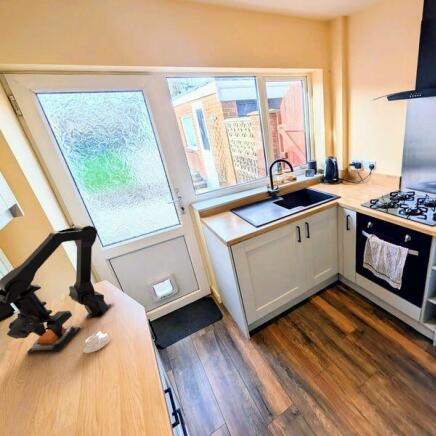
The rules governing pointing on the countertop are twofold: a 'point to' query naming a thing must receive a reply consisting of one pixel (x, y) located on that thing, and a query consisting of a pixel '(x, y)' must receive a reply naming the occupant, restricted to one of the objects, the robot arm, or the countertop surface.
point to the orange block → (49, 337)
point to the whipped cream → (95, 342)
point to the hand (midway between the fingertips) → (52, 336)
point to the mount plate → (57, 344)
